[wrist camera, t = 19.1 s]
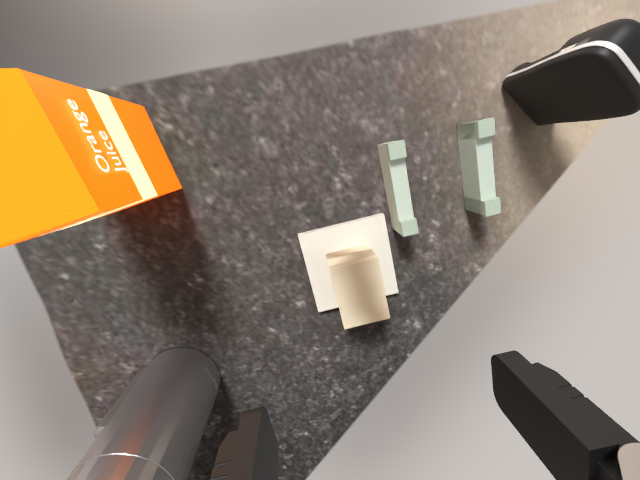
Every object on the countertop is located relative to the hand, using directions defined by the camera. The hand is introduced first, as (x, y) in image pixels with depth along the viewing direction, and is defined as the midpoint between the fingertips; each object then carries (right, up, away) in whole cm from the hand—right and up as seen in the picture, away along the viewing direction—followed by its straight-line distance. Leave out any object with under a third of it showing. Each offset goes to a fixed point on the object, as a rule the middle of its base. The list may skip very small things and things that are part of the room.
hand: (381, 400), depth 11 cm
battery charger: (+20, +21, +22) cm, 37 cm away
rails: (+10, +13, +24) cm, 29 cm away
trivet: (+1, +3, +26) cm, 26 cm away
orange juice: (-22, +14, +22) cm, 34 cm away
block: (+2, +1, +26) cm, 26 cm away
